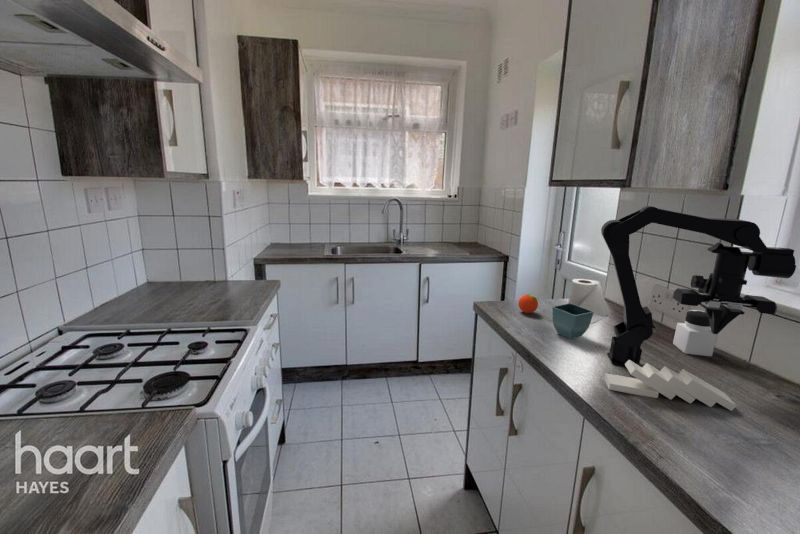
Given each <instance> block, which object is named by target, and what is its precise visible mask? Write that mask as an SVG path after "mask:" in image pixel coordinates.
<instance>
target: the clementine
mask: <svg viewBox="0 0 800 534" xmlns="http://www.w3.org/2000/svg"><path fill="white" fill-rule="evenodd" d="M539 301H540V299H539V298H538V297H537V296H535V295H532V294H524V295H522V296H521V297H520V298H519V300H518V302H517V303H518V308H519V309H520V311H522V312H523V313H525V314H532V313H534V312H536V311H537V309H538V308H539V303H540V304H541V302H539Z"/></svg>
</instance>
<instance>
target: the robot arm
mask: <svg viewBox="0 0 800 534" xmlns="http://www.w3.org/2000/svg"><path fill="white" fill-rule="evenodd" d="M650 224H657V225H660V226H661V225H662V226H667V227H672V228H676V229H681V230H686V231H690V232H696V233H700V234H705V235H708V236H710V237H713V238H716V239H718V240H721V241H724V242H726V243H729V244H731V245H734V246H727V245H724V244H723V243H721V242H716V243H715V244H714V245H711V246H710V247H708V248H707V251H708V252H710V253H712V254H717V255H716V259H715V260H716V261H715V265H714V269H713V272H712V273H709V275H708V278H704V276H703V275H700V274H699V275H697V274H693V275H692V276H691V281H690V287H691V289H690V288H689V289H688V288H680V287H679V288H676V289H675V290H674V291H673V294H672V298H673V299H674V300H675V301H676V302H678V304H680V305H683V306H693V307H697V306H701V307H702V308H704V309H705V312H707V314H708V318H709V322H710V327H711V328H710V330H711V332H712V333H713V334H717V335H718V334H719V333H720V332H721V331H723V330H724V329H725V327H727V325H729V324H730V323H731V322H732V321H733V320H734V319H736V318H737V317H739V316H740V315H745V311H743V310H742V309H743V307H744V308H745V307H746V308H754V309H755V310H756V311H757V312H758V313H760V314H768V315H776V314H777V309H778V305H777V303H776V301H773V300H771V299H769V298H767V297H766V296H760V295H753V294H752V295H751V294H750V295H749V294H746V295H744V296H743V297H742V296H741V293H742V289H743V286H744V285H745V286H747V283H748V280H747V279H745V278H746V274H747V269H748V271H751V273H752V275H754V276H761V277H769V278H770V277H771V278H778V279H789V278H792V276H793V275H795V274H794V273H795V271H796V269H797V265H796V258H795V255H794V253H795V250H794V249H793V248H788V247H779V248H777V247H767V245H766V244H765V242H764V241H763V240H762V238H761V237H760V236H761V229H760V228H759V227H760V226H758V224H756V223H755V222H752V221H749V220H743V219H737V218H715V217H714V218H713V217H710V218H709V217H702V216H698V215H693V214H689V213H688V214H687V213H682V212H677V211H672V210H669V209H667V210H666V209H664V208H663V209H662V208H658V207H656V206H651V205H646V206H644V207H642V208H640V209H639V210H637V211H635V212H632V213H629V214H628V215H626V216H623V217H621V218H619V219H610V220H608V221H606V222H605V223H604V224H603V225H602V227H601V229H600V231H601V236H602V237H603V240H604V242H605V244H606V246H607V248H608V250H609V252H610V254H611V256H612V261H613V265H614V269H615V272H616V277H617V281H618V285H619V289H620V293H621V297H622V301H623V313H622V314H623V321H620V322H618V323H617V324H615V325H614V326H613V330H614V334H615V336H612V337H611V342H610V347H609V351H608V352H607V353H606V355H607V357H608V358H609V360H610V362H611V364H613V365H617V366H622V367H623V366H624V367H626V366H625V363H626V362H627V361H628V360H631V361H632V362H634V363H636V364H637V365H639V364H640V363H641V358H642V354H643V349H642V344H643V343H644V342H645V341H647V340H648V339H650V338H651V337H652V336H653V335H654V334H653V333H654V329H656V326H655V324H654V323H653V313H652V311H651V310H650V308H649V307H648V306H644V307H643V306H642V303H641V300H640V296H639V290H638V288H637V282H636V279H635V275H634V270H633V266H632V260H631V259H630V235H632V234H634V233H636V232H638V231H639V230H641V229H643V228H645V227H647V226H648V225H650ZM740 247H742V248H743V249H746V250H749V251H742V250H741V248H740ZM692 288H693V289H692ZM694 288H695V289H698V292H697V291H696V290H694Z"/></svg>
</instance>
